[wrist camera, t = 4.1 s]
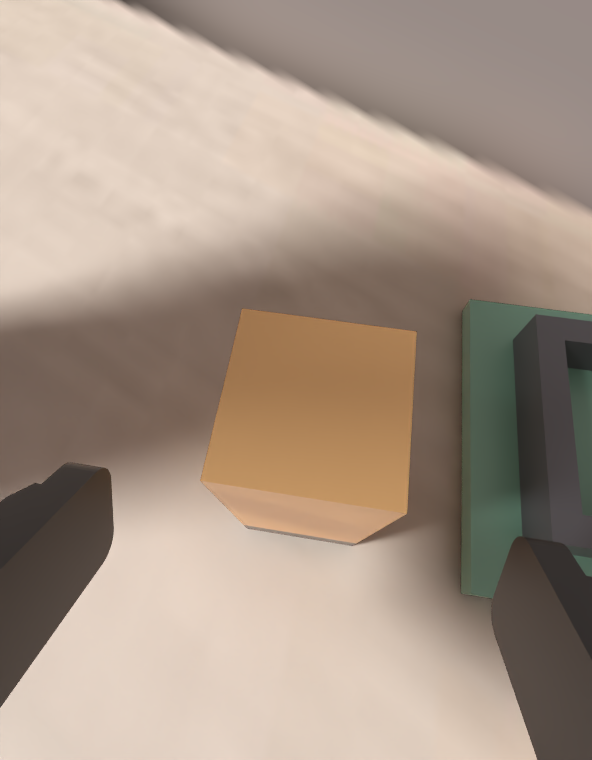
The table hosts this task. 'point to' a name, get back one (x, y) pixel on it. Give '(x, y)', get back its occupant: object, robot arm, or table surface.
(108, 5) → the table surface
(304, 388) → the tan cardboard box
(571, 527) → the board
